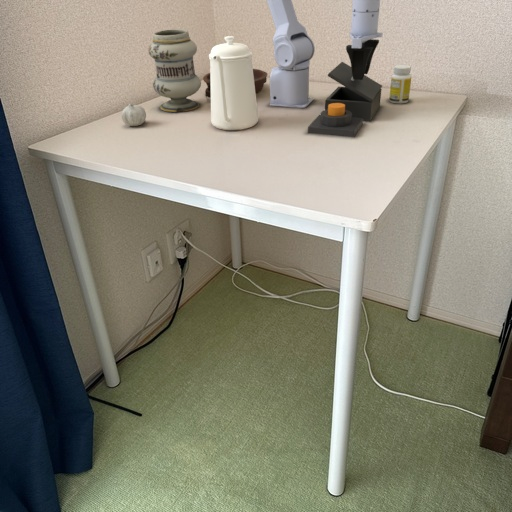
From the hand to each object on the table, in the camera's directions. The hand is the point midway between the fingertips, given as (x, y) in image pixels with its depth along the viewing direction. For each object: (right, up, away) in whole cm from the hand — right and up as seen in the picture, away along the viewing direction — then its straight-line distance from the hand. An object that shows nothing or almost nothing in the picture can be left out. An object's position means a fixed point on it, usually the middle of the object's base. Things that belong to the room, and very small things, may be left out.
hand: (360, 76), depth 112 cm
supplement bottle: (+12, -2, +11) cm, 17 cm away
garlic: (-53, -10, +4) cm, 54 cm away
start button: (-7, -11, -6) cm, 14 cm away
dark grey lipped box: (-1, -7, +5) cm, 8 cm away
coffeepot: (-29, -11, +1) cm, 31 cm away
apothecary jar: (-44, -3, +15) cm, 46 cm away
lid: (-1, -1, +1) cm, 2 cm away
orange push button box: (-7, -13, -5) cm, 16 cm away
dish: (-29, +4, +24) cm, 38 cm away
